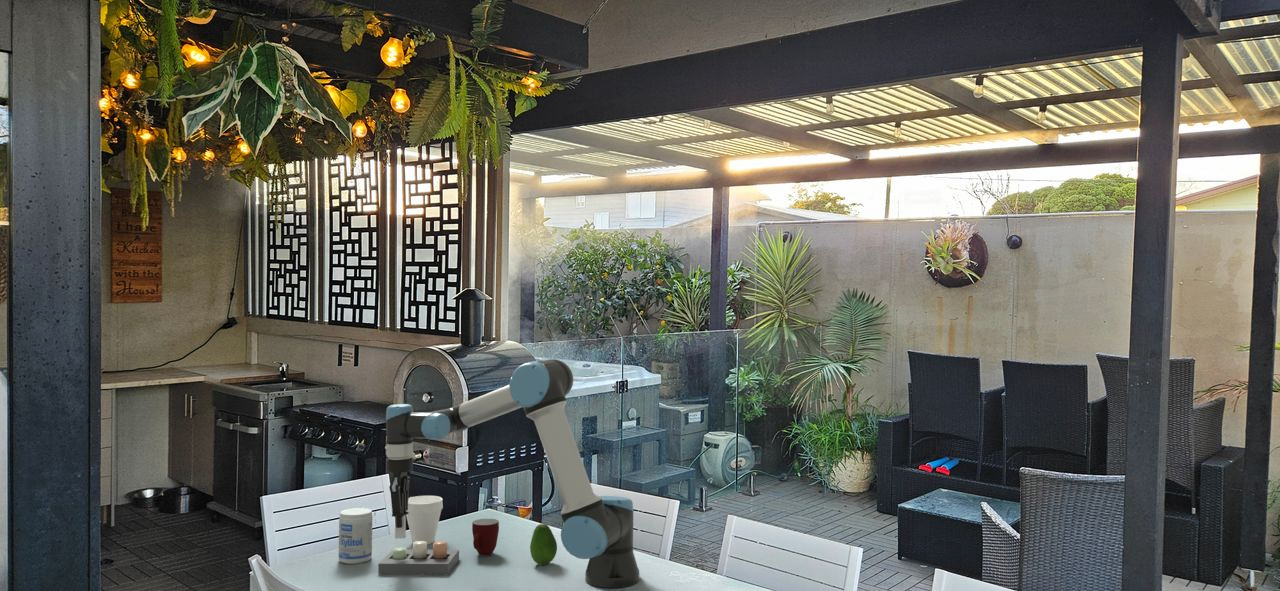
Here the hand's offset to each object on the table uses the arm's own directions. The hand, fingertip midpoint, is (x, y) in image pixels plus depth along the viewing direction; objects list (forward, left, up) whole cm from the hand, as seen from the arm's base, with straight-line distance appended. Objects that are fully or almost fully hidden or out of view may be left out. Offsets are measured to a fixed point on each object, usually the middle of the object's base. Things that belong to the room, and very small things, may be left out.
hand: (400, 537), depth 255 cm
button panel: (-5, -3, -9) cm, 10 cm away
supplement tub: (+16, +4, -9) cm, 19 cm away
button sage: (0, 0, -8) cm, 8 cm away
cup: (+15, -21, -9) cm, 28 cm away
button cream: (-5, -3, -6) cm, 8 cm away
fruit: (-33, -26, -9) cm, 43 cm away
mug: (-12, -22, -9) cm, 27 cm away
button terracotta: (-10, -7, -6) cm, 13 cm away
